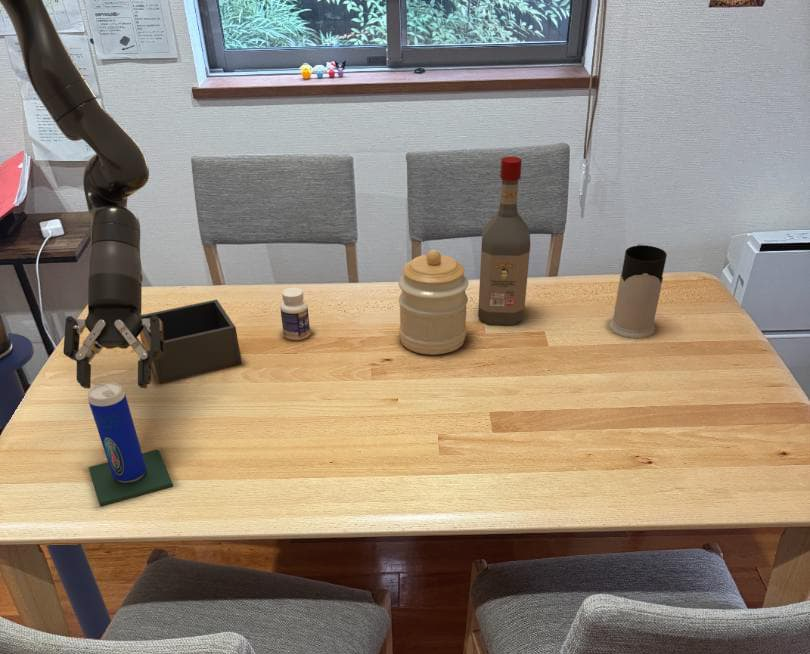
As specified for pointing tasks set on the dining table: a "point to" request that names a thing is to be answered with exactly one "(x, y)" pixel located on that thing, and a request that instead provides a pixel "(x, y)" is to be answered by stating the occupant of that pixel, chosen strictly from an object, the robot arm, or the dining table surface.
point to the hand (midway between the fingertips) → (114, 387)
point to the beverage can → (117, 431)
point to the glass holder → (638, 291)
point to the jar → (433, 304)
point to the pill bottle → (294, 314)
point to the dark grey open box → (194, 341)
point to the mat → (117, 491)
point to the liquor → (505, 255)
